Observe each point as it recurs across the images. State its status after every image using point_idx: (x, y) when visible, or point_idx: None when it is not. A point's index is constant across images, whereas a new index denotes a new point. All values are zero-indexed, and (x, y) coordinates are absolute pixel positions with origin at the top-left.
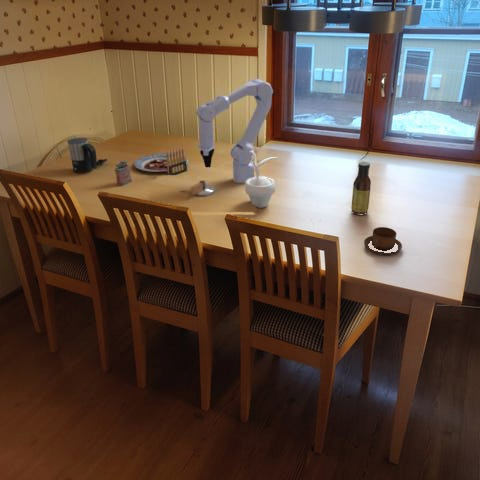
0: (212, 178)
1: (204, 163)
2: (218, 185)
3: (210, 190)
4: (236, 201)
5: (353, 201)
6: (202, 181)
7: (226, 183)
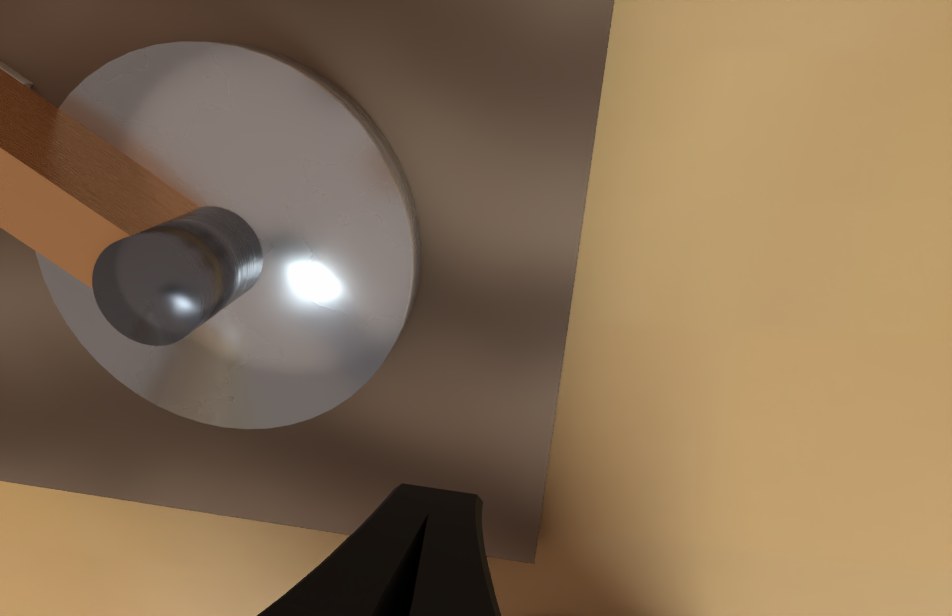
0: (894, 407)
1: (355, 533)
2: (564, 461)
3: (150, 363)
4: (46, 586)
5: None
6: (149, 294)
7: (624, 565)
